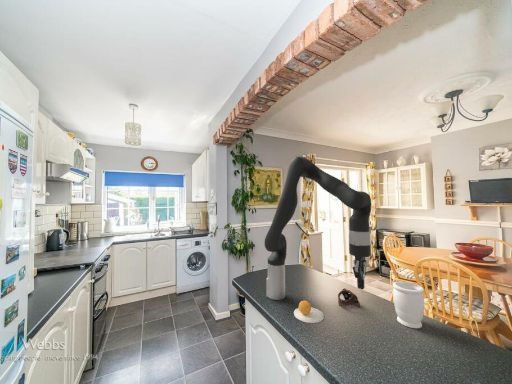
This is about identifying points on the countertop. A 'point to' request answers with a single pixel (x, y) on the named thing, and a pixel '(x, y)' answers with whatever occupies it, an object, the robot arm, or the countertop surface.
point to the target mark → (309, 316)
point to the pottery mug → (347, 298)
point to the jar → (408, 303)
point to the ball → (304, 307)
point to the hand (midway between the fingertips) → (361, 288)
